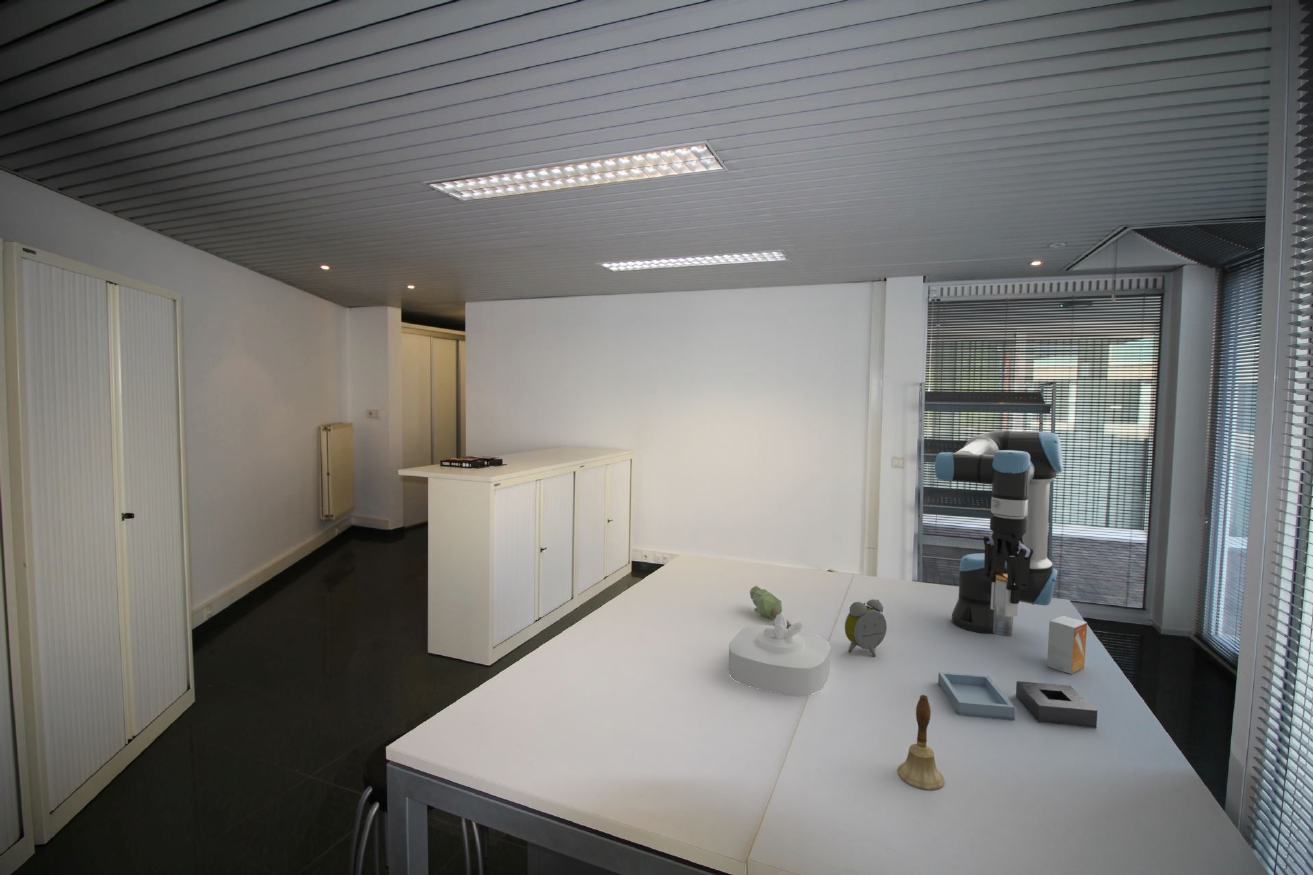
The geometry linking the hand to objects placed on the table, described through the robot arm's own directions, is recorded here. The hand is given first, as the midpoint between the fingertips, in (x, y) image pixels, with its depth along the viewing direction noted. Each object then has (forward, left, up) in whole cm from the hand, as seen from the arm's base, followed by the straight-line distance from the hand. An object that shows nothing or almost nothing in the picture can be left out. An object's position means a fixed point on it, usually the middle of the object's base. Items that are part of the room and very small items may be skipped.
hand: (1003, 612), depth 143 cm
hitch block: (+1, +12, -23) cm, 26 cm away
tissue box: (-8, -52, -23) cm, 57 cm away
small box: (-26, +27, -23) cm, 44 cm away
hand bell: (+33, -26, -23) cm, 48 cm away
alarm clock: (-25, -26, -23) cm, 43 cm away
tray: (-1, -5, -23) cm, 23 cm away
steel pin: (0, 0, -5) cm, 5 cm away
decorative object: (-47, -53, -23) cm, 75 cm away
